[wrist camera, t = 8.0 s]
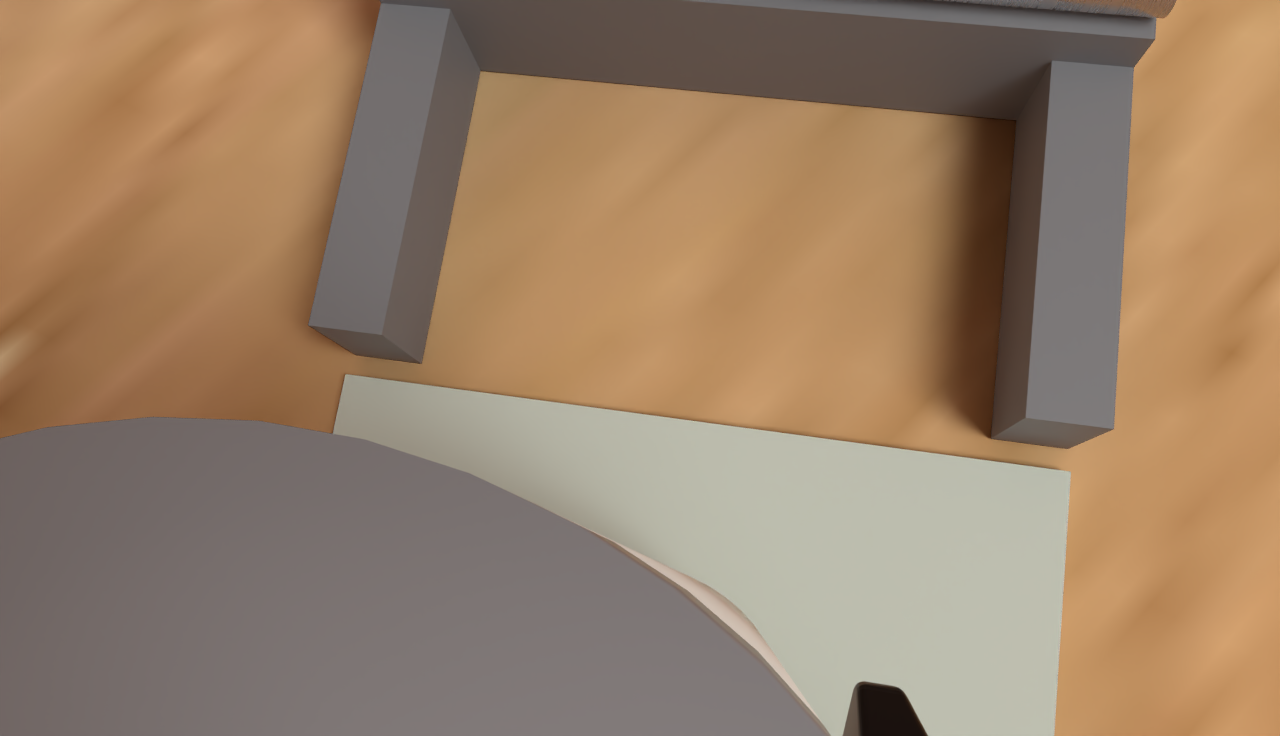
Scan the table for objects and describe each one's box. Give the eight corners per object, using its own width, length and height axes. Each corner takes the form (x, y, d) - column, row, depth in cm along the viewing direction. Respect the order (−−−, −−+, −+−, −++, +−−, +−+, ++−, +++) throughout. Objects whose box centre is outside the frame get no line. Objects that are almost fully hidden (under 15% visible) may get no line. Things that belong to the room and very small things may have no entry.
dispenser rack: (1068, 449, 20) (1166, 406, 15) (356, 354, 22) (255, 292, 17) (1092, 63, 22) (1187, -78, 17) (430, 6, 24) (357, -134, 19)
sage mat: (1026, 1089, 18) (1031, 1098, 17) (233, 923, 19) (225, 928, 19) (1065, 473, 20) (1070, 471, 20) (350, 377, 22) (345, 374, 21)
